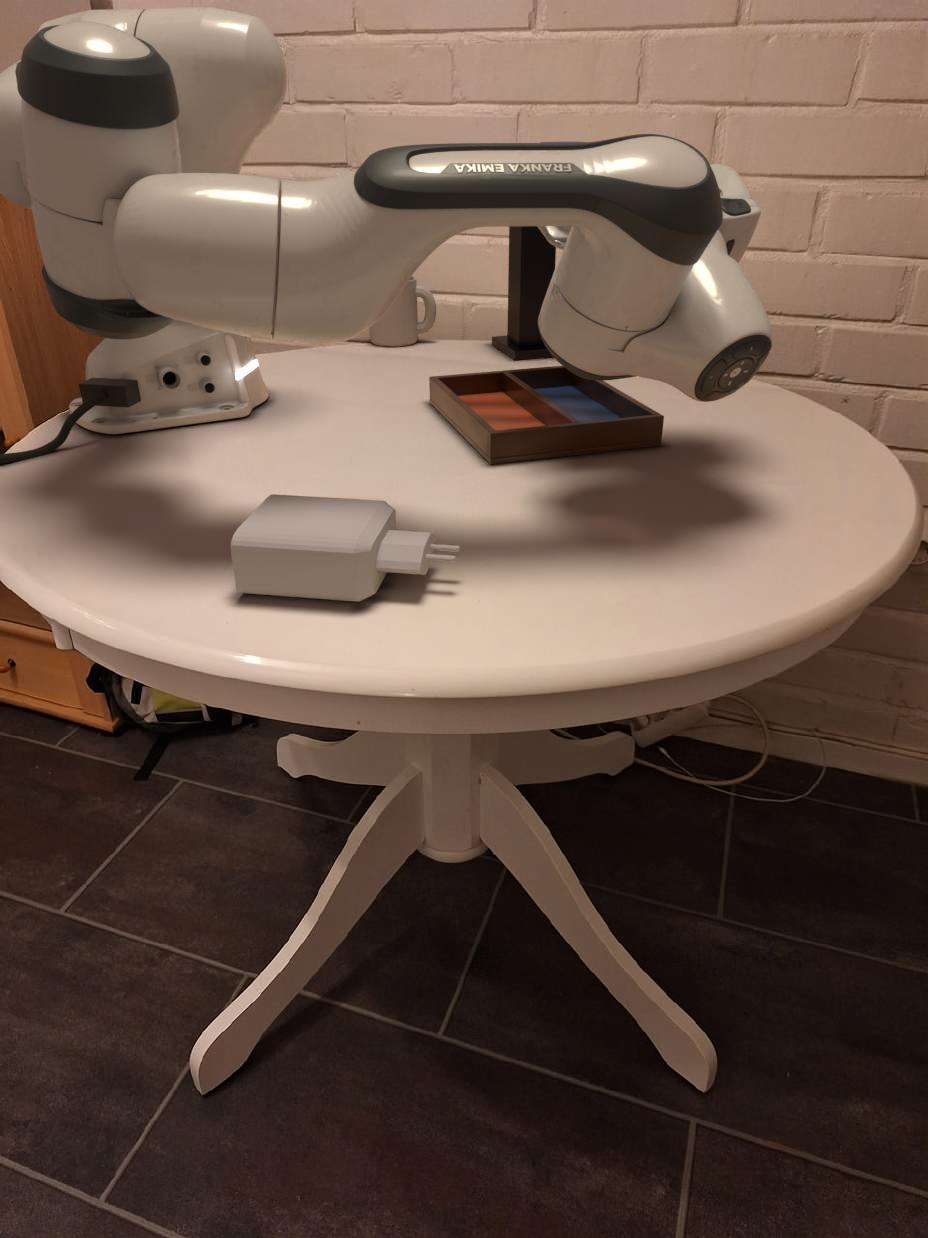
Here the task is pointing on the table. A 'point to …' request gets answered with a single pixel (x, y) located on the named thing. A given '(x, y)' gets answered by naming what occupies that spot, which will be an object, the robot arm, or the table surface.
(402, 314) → the cup
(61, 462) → the table surface
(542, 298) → the spoon stand
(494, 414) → the sorting tray
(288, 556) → the charger
